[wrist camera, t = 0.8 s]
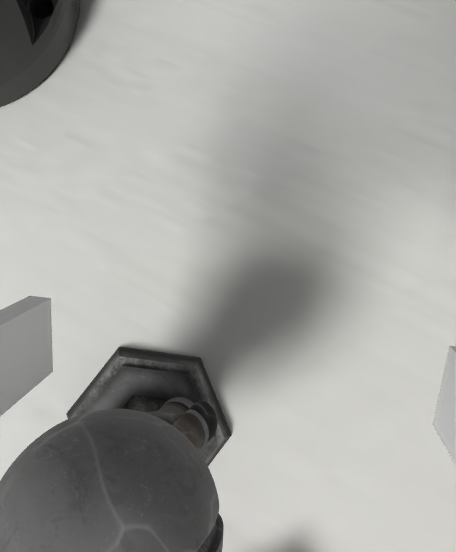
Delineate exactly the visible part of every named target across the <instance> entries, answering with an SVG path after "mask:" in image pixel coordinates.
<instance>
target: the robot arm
mask: <svg viewBox="0 0 456 552" xmlns="http://www.w3.org/2000/svg"><path fill="white" fill-rule="evenodd" d="M79 5H80V0H0V107H1V106H4V105H6V104H8V103H10V102H13V101H15V100H16V99H18V98H20V97H22V96H23V95H25V94H27V93H28V92H30V91H31V90H32V89H34V88H35V87H36V86H37V85H39V84H40V83H41V82H42V81H43V80H44V79H45V78H46V77H47V76H48V75H49V74H50V73H51V72H52V71H53V69H54V68H55V67H56V66H57V64H58V63H59V62H60V60H61V59H62V57H63V55H64V54H65V52H66V50H67V48H68V46H69V44H70V42H71V40H72V37H73V34H74V31H75V28H76V24H77V20H78V14H79ZM51 372H53V363H52V326H51V298H44V297H35V296H29V297H27V298H25V299H22V300H20V301H18V302H16V303H14V304H12V305H10V306H8V307H6V308H4V309H2V310H0V416H1V415H2V414H4V413H5V412H6V411H7V410H8V409H9V408H11V407H12V406H13V405H14V404H15V403H16V402H18V401H19V400H20V399H21V398H22V397H23V396H25V395H26V394H27V393H28V392H29V391H30V390H32V389H33V388H34V387H35V386H36V385H37V384H39V383H40V382H41V381H42V380H43V379H44V378H46V377H47V376H48V375H49V374H50V373H51ZM433 426H434V428H435V430H436V431H437V433H438V435H439V437H440V438H441V440H442V442H443V444H444V446H445V447H446V449H447V451H448V453H449V454H450V456H451V458H452V460H453V462H454V463H455V465H456V347H455V346H449V351H448V355H447V360H446V364H445V369H444V374H443V378H442V383H441V387H440V392H439V396H438V401H437V406H436V410H435V415H434V419H433Z"/></svg>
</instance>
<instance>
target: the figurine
mask: <svg viewBox="0 0 456 552" xmlns="http://www.w3.org/2000/svg"><path fill="white" fill-rule="evenodd" d="M67 417H68V420H65V421H64V422H62V423H60V424H58V425H56V426H54V427H53V428H51V429H49V430H48V431H46V432H45V433H44V434H42V435H41V436H40V437H38V438H37V439H36V440H35V441H34V442H32V443H31V444H30V445H29V446H28V447H27V448H26V449H25V450H24V451H23V452H22V453H21V454H20V455H19V456H18V457H17V459H16V460H15V461H14V462H13V463H12V465H11V466H10V467H9V469H8V470H7V472H6V473H5V474H4V476H3V478H2V479H1V481H0V552H222V545H223V521H222V518H221V516H220V515H219V513H218V512H219V500H218V495H217V490H216V487H215V483H214V480H213V478H212V475H211V473H210V470H209V468H208V466H209V464H210V463H211V462H212V460H213V459H214V458H215V456H216V455H217V454H218V452H219V451H220V450H221V448H222V447H223V446H224V444H225V443H226V442H227V440H228V439H229V438H230V436H231V433H230V430H229V428H228V425H227V423H226V420H225V418H224V415H223V413H222V410H221V408H220V405H219V403H218V400H217V398H216V395H215V393H214V391H213V388H212V386H211V383H210V381H209V378H208V376H207V373H206V371H205V368H204V366H203V363H202V361H201V358H197V357H189V356H182V355H174V354H167V353H159V352H152V351H144V350H136V349H129V348H121V347H119V348H118V349H117V350H116V352H115V353H114V354H113V355H112V357H111V358H110V359H109V360H108V362H107V363H106V364H105V365H104V367H103V368H102V369H101V371H100V372H99V373H98V374H97V376H96V377H95V378H94V379H93V381H92V382H91V383H90V385H89V386H88V387H87V388H86V390H85V391H84V392H83V393H82V395H81V396H80V397H79V399H78V400H77V401H76V402H75V404H74V405H73V406H72V407H71V409H70V410H69V411H68V412H67Z"/></svg>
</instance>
